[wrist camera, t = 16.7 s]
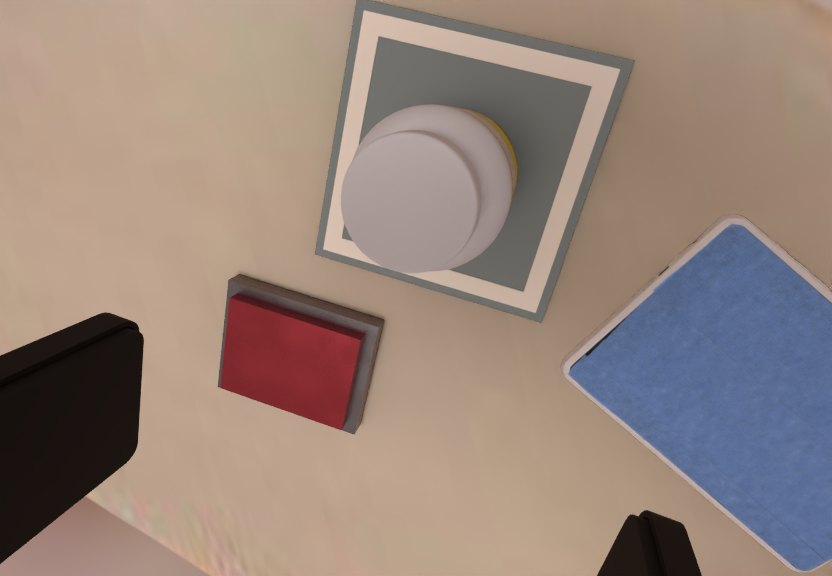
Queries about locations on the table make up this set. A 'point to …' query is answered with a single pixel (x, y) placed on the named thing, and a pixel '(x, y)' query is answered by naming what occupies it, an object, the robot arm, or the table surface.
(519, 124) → the marked board
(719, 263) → the blue flat pad
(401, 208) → the pill bottle
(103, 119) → the table surface
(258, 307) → the ink pad
